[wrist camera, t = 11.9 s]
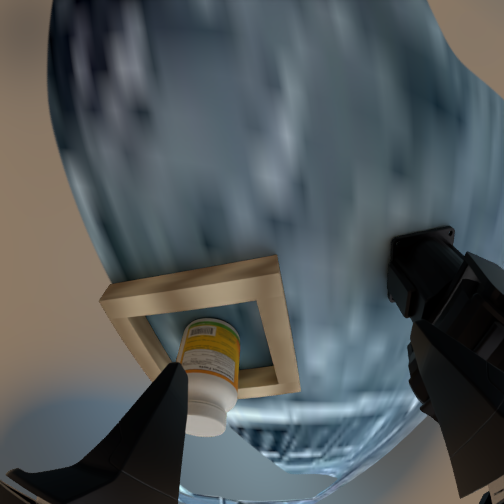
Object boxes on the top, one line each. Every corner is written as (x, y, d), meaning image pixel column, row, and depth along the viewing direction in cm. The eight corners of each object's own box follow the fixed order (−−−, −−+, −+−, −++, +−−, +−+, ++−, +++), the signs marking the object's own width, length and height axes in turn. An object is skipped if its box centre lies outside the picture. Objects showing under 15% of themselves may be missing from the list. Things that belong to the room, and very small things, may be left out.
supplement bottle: (219, 361, 27) (209, 445, 19) (174, 337, 26) (150, 423, 17) (252, 335, 25) (250, 427, 17) (203, 306, 24) (183, 401, 15)
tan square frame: (277, 254, 21) (279, 272, 19) (298, 373, 28) (300, 391, 26) (109, 284, 23) (98, 301, 21) (171, 384, 30) (167, 401, 28)
